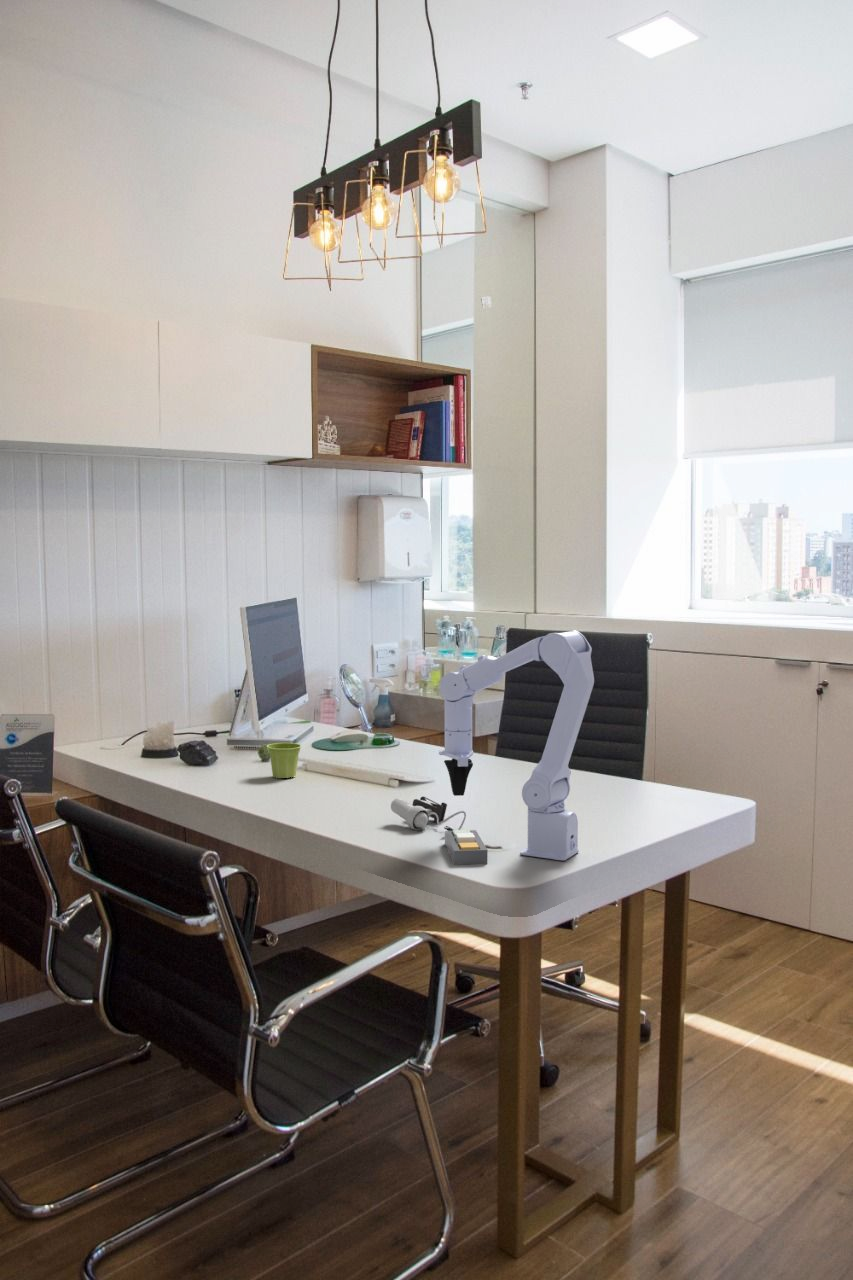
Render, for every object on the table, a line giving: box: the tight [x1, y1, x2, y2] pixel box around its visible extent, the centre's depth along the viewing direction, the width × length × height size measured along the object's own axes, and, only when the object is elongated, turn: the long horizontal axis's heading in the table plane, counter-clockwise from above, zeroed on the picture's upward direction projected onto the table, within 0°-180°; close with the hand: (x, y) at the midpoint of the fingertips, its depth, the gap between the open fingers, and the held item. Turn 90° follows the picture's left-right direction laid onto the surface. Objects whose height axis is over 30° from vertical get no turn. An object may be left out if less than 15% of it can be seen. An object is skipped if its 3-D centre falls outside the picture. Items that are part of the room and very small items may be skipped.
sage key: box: [453, 829, 471, 837], centre depth 213 cm, size 3×3×2 cm
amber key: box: [459, 842, 479, 850], centre depth 203 cm, size 3×3×2 cm
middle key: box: [456, 833, 475, 843], centre depth 208 cm, size 3×3×2 cm
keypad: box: [444, 829, 488, 865], centre depth 208 cm, size 15×6×3 cm, turn 6°
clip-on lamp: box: [390, 796, 467, 831], centre depth 229 cm, size 12×6×18 cm
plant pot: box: [266, 742, 302, 779], centre depth 285 cm, size 9×9×9 cm
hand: (458, 794), depth 218 cm, fingers closed
